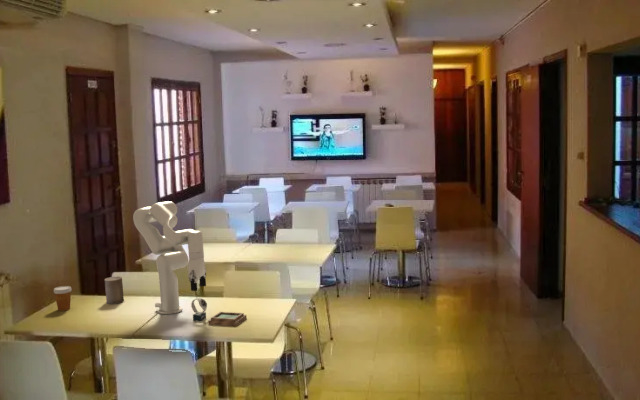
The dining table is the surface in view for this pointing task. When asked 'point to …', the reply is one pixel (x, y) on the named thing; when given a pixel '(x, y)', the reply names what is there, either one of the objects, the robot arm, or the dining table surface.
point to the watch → (199, 315)
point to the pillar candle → (114, 290)
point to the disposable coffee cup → (63, 297)
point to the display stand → (227, 319)
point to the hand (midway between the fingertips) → (198, 288)
